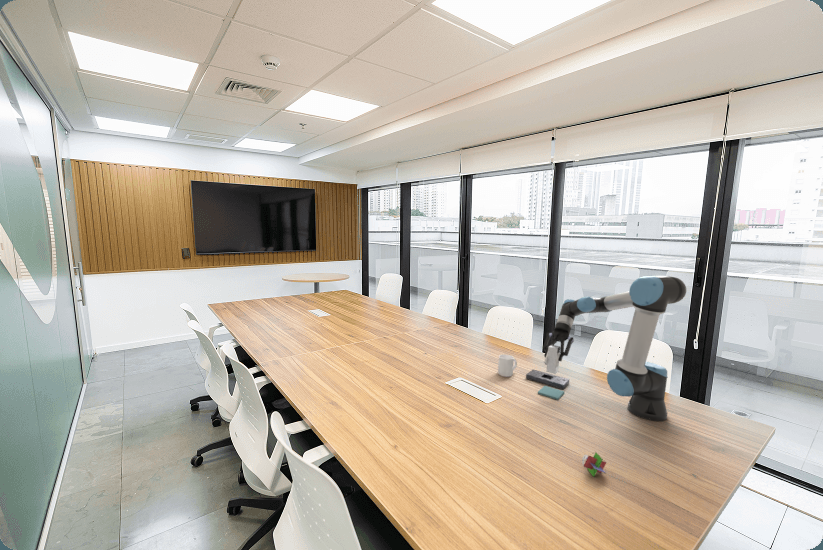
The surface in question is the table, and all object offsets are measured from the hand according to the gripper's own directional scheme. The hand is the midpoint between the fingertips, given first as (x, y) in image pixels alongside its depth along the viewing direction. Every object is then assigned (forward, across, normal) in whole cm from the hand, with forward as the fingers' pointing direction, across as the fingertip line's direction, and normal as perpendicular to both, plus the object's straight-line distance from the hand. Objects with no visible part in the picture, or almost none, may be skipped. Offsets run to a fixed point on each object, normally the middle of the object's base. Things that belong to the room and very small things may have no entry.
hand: (550, 364), depth 174 cm
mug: (+3, +27, -20) cm, 34 cm away
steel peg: (+1, 0, -6) cm, 6 cm away
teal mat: (+9, 0, -14) cm, 17 cm away
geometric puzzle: (+45, -32, +22) cm, 60 cm away
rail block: (-1, +6, -24) cm, 25 cm away
